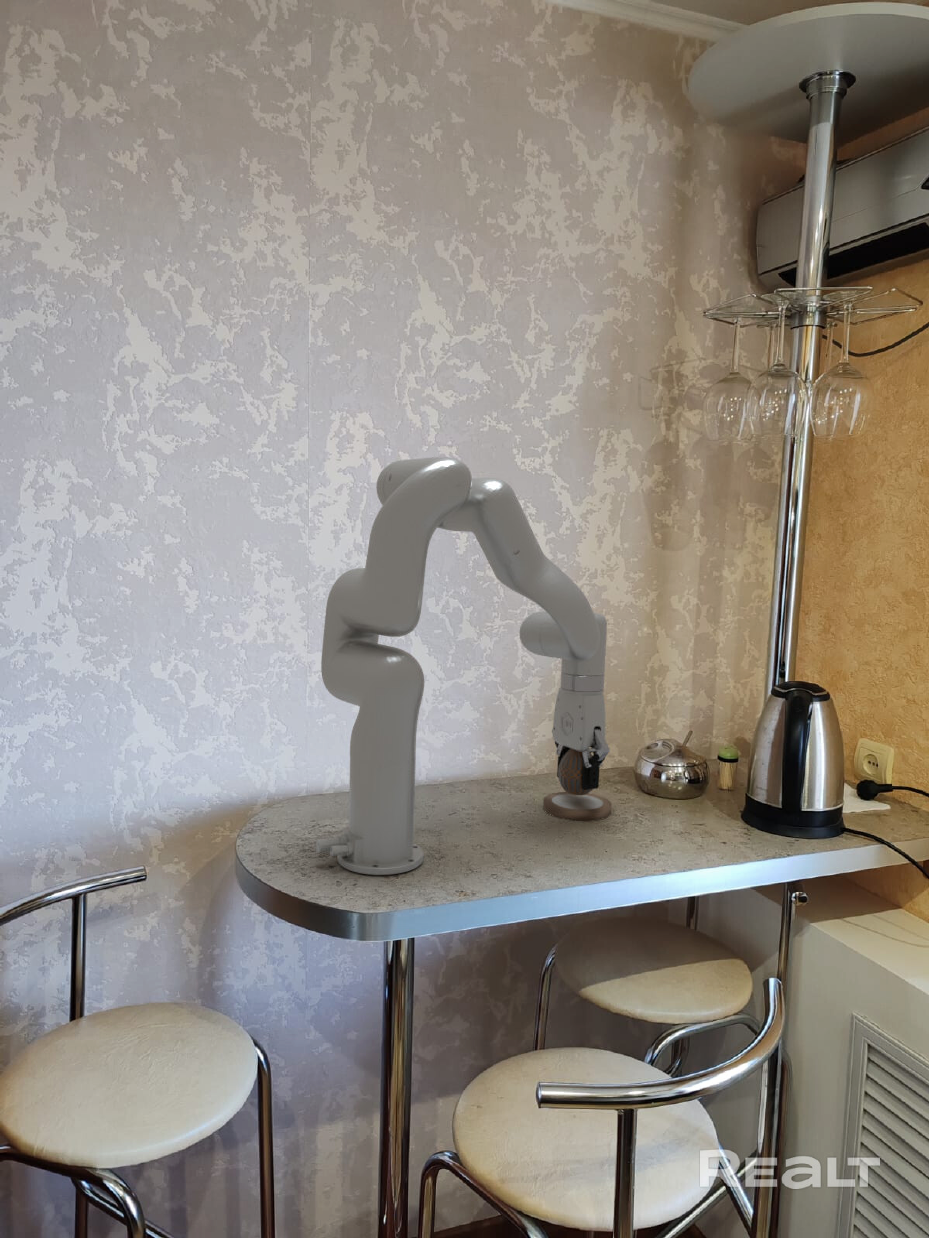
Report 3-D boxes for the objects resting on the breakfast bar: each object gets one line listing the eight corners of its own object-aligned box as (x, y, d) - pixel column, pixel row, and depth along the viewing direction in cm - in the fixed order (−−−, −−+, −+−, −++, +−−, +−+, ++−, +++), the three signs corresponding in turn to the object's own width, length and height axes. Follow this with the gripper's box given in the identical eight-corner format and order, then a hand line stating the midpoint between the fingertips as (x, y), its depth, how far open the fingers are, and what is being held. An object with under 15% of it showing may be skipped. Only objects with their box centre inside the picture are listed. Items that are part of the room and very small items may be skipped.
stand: (567, 824, 149) (568, 815, 149) (530, 804, 160) (530, 795, 160) (625, 815, 155) (625, 807, 155) (585, 796, 165) (585, 788, 165)
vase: (603, 791, 158) (605, 742, 157) (586, 800, 152) (589, 750, 151) (567, 784, 162) (570, 737, 161) (550, 792, 156) (553, 743, 155)
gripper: (537, 676, 161) (533, 772, 163) (593, 692, 146) (588, 798, 147) (571, 674, 164) (567, 768, 166) (630, 690, 149) (624, 794, 151)
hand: (577, 782), depth 157 cm, fingers closed on vase, 6 cm apart
